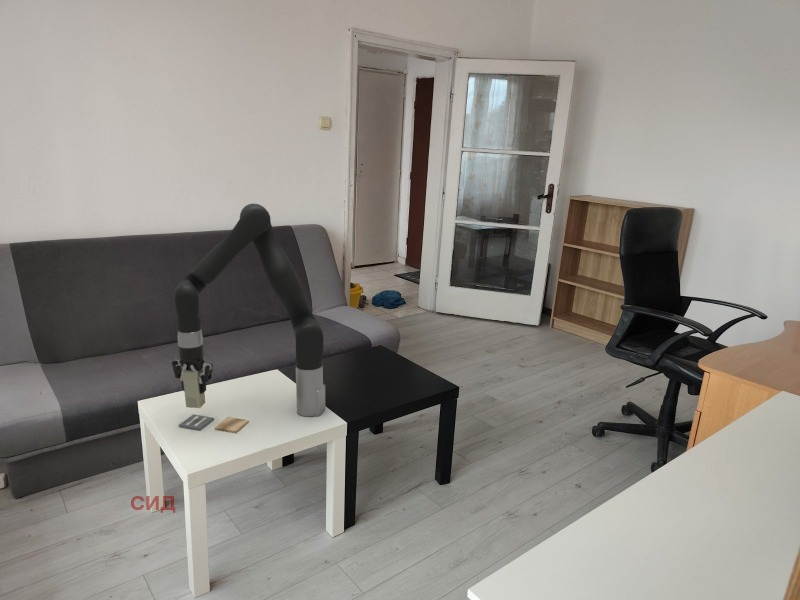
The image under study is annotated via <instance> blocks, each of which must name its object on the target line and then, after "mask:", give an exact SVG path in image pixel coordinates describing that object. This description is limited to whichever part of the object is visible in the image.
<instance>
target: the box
mask: <svg viewBox="0 0 800 600" xmlns="http://www.w3.org/2000/svg"><path fill="white" fill-rule="evenodd" d="M198 373H199V374H200V373H201V371H200V372H198ZM182 374H183V383H184V391H183V392H184V400H185V408H187V409H189V408H191V409H201V408H202V407H203V406H204V405H205V404H206V395H205V394H206V393H205V392H204V393H203V394H200V391H199V381H198V377H197V373H196V372H193V371H190V370H186V371H183V372H182ZM201 378H202V377H201Z"/></svg>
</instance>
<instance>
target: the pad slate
mask: <svg viewBox="0 0 800 600" xmlns="http://www.w3.org/2000/svg"><path fill="white" fill-rule="evenodd" d="M214 420H215V417H213V416H206V415H200V414H192V415H190V416H189V417H187V418H186V419H185V420H183V421H181V422H180V423H179V424H178V428H180V429H181V428H182V429H188V430H193V431H198V432H199V431H202V430H203V429H204V428H205V427H207V426H208V425H210V424H211V423H212V422H213V421H214Z"/></svg>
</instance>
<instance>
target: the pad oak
mask: <svg viewBox="0 0 800 600" xmlns="http://www.w3.org/2000/svg"><path fill="white" fill-rule="evenodd" d="M249 423H250V420H249V419H244V418H237V417H231V416H226V417H225V418H224V419H223V420H222V421H221V422H219V423H218V424H216V426H214V427H213V428H214V431H220V432H224V431H225V432H226V433H230V432H231V434H238V433H240V431H242V429H243V428H244V427H246V426H247V425H248V424H249ZM246 424H247V425H246ZM237 432H238V433H237Z"/></svg>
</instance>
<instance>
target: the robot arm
mask: <svg viewBox="0 0 800 600" xmlns="http://www.w3.org/2000/svg"><path fill="white" fill-rule="evenodd" d="M271 219H272V218H271V215H270V213H269V211H268V210H267V209H266V208H265V207H264V206H263V205H261V204H258V203H249V204H247V205H245V206H244V207H242V209H241V211H240V213H239V219H238V221H237V223H236V224H235V226H234V227H233V229H232V230H230V232H229V233H228V234H227V236H226V237H224V238H223V239H222V240H221V241H220V242H219V243H218V244H216V245H215V246H214V247H212V249H211V250H210V251H209V252H208V253H207V254H206V255H204V257H203V258H202V259H201V260H200V261H199V263H197V265H195V267H194V268H193V269H192V270H191V271H190V272H189V273H188V274H187V275H185V277H183V279H181V280H180V281H179V283H178V284H177V285H176V287H175V290H174V304H175V305H174V306H175V310H176V324H177V325H176V326H177V347H178V358H176V359H174V360H172V361H171V366H172V370H173V374H174V377H175V378H176V379H179V380H180V382H181V389H182V390H183V391H182V392H184V383H183V374H182V372H183V371H186V370H190V371H193V372H196V373H197V377H198V381H199V391H200V394H203V393H205V392H206V391H207V383H208V382H209V381H211V380H212V376H213V368H214V364H213V363H211V362H210V363H208V362H207V363H206V362H205V360H204V355H205V353H204V352H205V351H204V350H205V348H204V337H203V332H202V331H203V330H202V319H201V314H200V294H201V293H202V292H203V290H204V289H206V288H207V286H208V285H211V284H212V283H213V282H215V280H217V279H218V277H220V275H221V274H222V273H223V272H224V271H225V269H226V268H228V266H230V264H231V263H232V261H234V259H235V258H236V257H237V256H238V255H239V254H240V253H241V252H242V251H243V250H244V249H245V248H246V247H248V245H250V243H253V245H254V246H255V249H256V252H257V254H258V258H259V260H260V263H261V266H262V269H263V271H264V274H265V277H266V279H267V281H268V283H269V285H270V287H271V289H272V291H273V294H275V296H276V298H277V300H278V301H279V302H280V303H281V305H282V306H283V308H284V310H285V312H287V315H288V317H289V320H290V323H291V326H292V329H293V333H294V338H295V391H296V392H295V393H296V395H295V396H296V413H297V414H298V415H300V416H302V417H315V416H316V417H320V416H321V414H322V413H323V412H324V411H325V410H326V384H324V378H323V377H324V376H323V374H324V371H323V370H324V369H323V367H324V344H325V343H324V333H323V330H322V327H321V325H320V323H319V321H318V320H317V318H316V317H315V315H314V314H313V312H312V311H311V309H310V307H309V305H308V303H307V300H306V297H305V294H304V289H303V288H302V284H301V281H300V280H299V276H298V274H297V273H296V270H295V268H294V265H293V263H292V262H291V260H290V258H289V257H288V255H287V254H286V252H285V250H284V249H283V247H282V246H281V244H280V243H279V240H278V239H277V236H276V234H275V230H274V228H273V225H272V223H271ZM200 371H201V373H200V374H199V373H198V372H200ZM201 377H202V378H201Z"/></svg>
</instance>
